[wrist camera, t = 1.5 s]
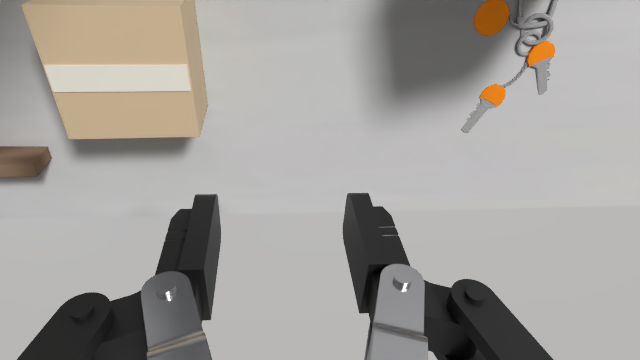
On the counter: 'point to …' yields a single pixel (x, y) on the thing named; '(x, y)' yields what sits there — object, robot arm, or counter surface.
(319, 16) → the counter surface
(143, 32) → the kraft carton
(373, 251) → the robot arm
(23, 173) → the brown wooden u-shaped piece
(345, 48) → the counter surface
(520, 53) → the key chain
